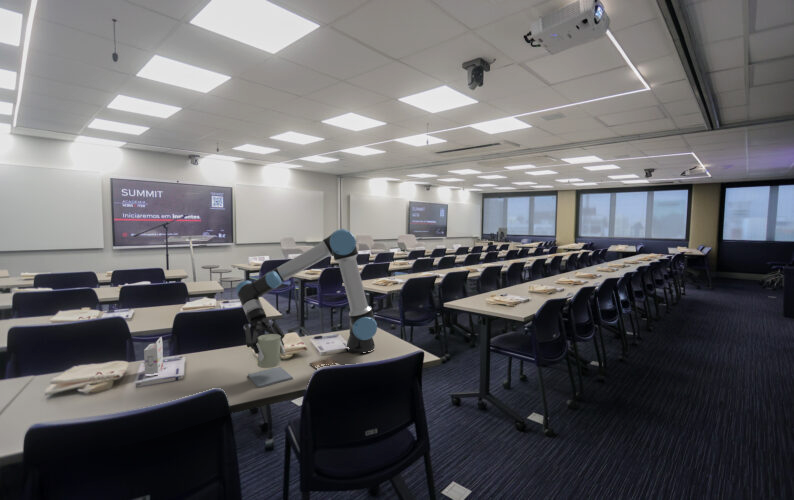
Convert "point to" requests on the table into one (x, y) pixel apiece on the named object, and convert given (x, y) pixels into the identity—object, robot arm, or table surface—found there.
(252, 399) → the table surface
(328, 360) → the walnut coaster
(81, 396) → the table surface
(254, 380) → the grey mat
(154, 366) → the ink cartridge box
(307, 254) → the robot arm
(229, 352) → the table surface
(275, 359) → the can
